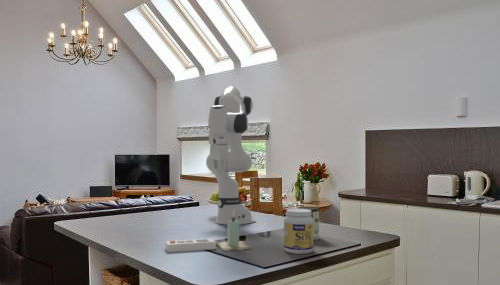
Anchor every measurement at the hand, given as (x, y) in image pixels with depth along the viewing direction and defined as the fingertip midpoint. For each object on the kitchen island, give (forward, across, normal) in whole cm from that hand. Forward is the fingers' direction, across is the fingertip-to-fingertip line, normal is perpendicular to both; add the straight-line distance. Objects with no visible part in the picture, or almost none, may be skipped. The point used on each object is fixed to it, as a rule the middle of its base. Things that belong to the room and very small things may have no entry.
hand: (218, 169), depth 215 cm
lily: (+33, -9, +41) cm, 54 cm away
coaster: (+31, +21, +1) cm, 38 cm away
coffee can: (+32, +12, +40) cm, 53 cm away
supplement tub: (+32, +35, +25) cm, 54 cm away
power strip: (+31, +19, -17) cm, 40 cm away
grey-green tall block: (+30, +21, +1) cm, 37 cm away
